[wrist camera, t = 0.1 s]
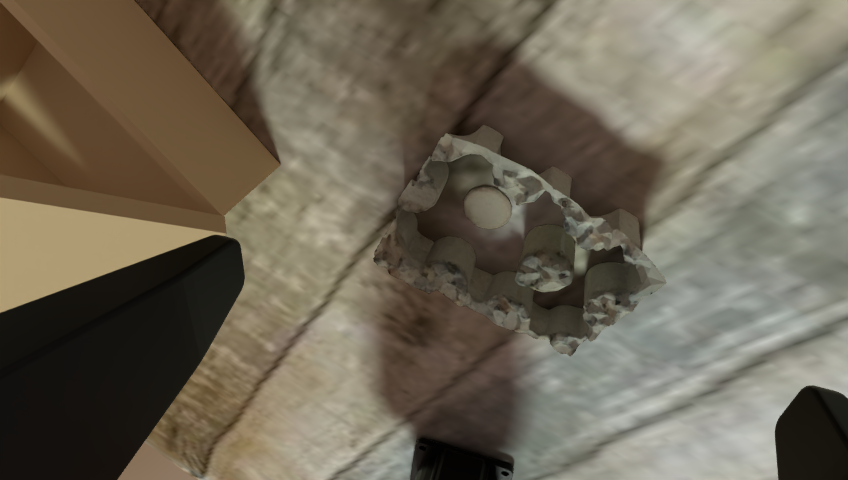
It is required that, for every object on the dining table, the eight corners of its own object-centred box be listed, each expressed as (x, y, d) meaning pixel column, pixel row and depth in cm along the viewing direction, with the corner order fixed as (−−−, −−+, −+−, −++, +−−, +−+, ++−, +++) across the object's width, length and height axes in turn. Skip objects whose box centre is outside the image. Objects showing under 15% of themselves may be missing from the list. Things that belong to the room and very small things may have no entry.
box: (280, 164, 26) (223, 216, 22) (154, 265, 33) (93, 318, 29) (86, -55, 23) (-24, -40, 19) (-11, 109, 30) (-106, 145, 26)
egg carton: (388, 212, 27) (358, 259, 23) (470, 91, 22) (446, 128, 19) (561, 328, 27) (555, 388, 24) (673, 234, 23) (684, 293, 20)
